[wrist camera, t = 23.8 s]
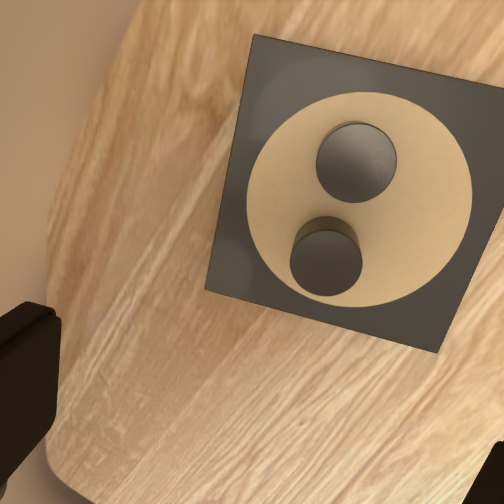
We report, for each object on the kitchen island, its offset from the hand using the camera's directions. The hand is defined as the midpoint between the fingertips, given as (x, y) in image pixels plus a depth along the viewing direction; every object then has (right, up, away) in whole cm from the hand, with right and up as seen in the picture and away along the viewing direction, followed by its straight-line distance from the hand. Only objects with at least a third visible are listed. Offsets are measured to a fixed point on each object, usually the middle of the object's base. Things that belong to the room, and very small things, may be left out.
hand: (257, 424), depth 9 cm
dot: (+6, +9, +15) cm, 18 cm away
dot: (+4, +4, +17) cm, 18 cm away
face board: (+6, +7, +17) cm, 19 cm away
